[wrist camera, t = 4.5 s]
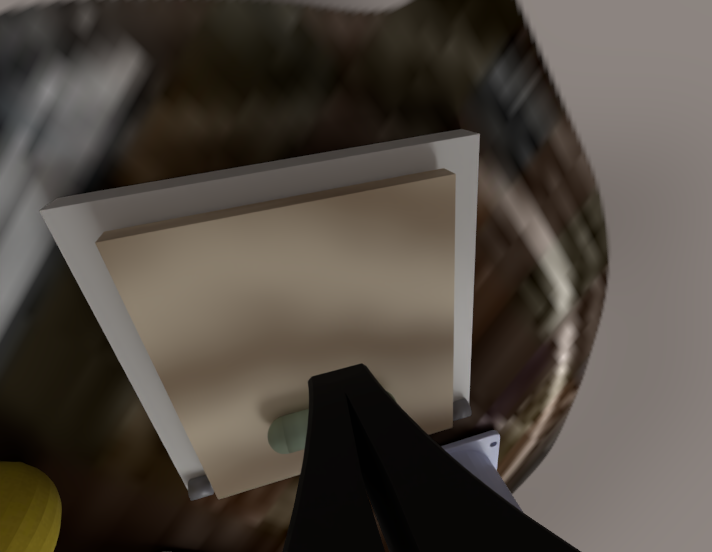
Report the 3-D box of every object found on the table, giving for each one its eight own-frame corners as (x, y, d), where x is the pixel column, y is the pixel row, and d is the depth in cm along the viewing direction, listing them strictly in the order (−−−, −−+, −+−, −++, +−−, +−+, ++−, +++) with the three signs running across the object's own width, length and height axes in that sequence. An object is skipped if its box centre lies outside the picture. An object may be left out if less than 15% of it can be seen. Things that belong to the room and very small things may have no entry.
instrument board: (444, 413, 22) (467, 451, 20) (219, 481, 20) (216, 532, 18) (444, 168, 16) (477, 184, 13) (103, 231, 14) (77, 263, 11)
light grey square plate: (456, 395, 25) (475, 423, 23) (194, 472, 22) (190, 512, 20) (461, 129, 17) (490, 137, 15) (57, 197, 14) (28, 218, 12)
